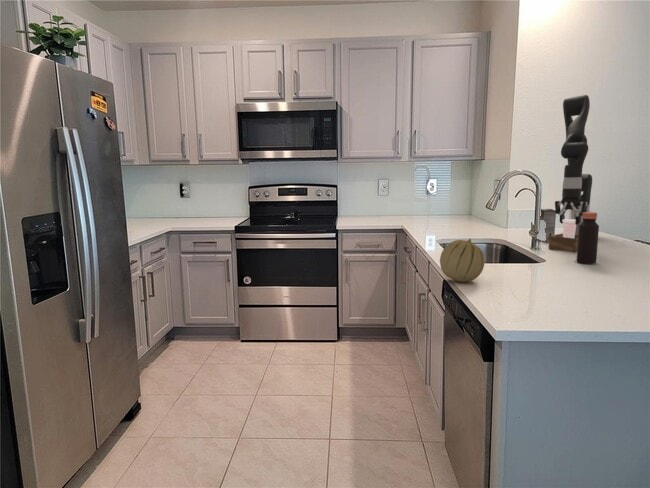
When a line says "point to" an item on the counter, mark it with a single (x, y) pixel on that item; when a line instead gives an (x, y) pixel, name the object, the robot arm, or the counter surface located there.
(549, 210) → the coffee box
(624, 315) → the counter surface
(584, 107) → the robot arm
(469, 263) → the cantaloupe
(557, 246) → the wooden square frame
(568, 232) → the beverage cup
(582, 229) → the bottle
